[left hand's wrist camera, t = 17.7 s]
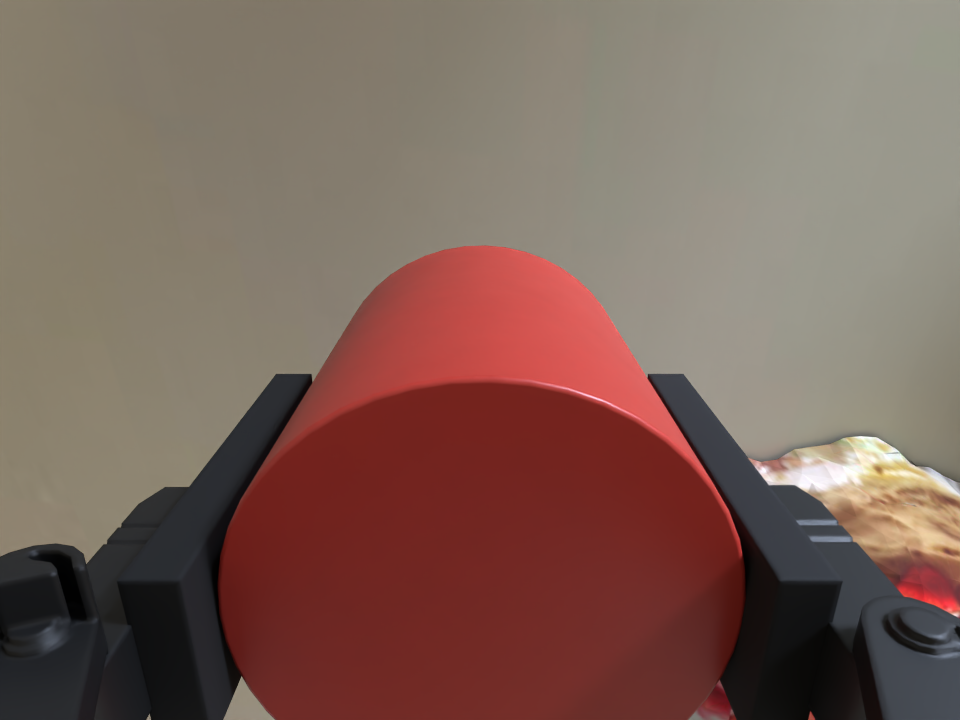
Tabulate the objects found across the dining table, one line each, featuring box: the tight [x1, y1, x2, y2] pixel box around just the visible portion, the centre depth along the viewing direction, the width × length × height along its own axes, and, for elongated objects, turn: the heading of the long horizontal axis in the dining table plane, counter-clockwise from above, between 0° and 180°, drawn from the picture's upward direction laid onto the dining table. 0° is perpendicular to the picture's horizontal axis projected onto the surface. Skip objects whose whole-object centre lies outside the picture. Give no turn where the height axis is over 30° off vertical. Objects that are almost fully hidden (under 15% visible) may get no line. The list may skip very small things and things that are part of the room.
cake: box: [689, 436, 960, 720], centre depth 33 cm, size 23×24×10 cm
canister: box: [217, 246, 746, 720], centre depth 13 cm, size 7×7×8 cm
